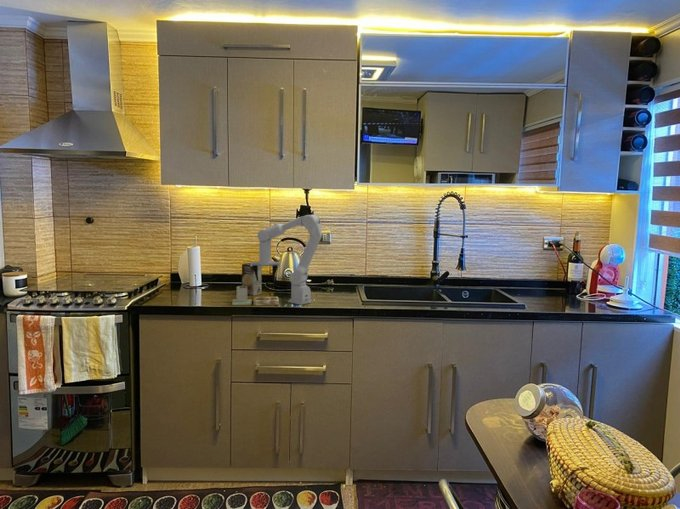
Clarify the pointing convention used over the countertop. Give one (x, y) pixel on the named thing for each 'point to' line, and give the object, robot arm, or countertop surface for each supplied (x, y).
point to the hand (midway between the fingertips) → (265, 280)
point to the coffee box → (251, 279)
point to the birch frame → (266, 301)
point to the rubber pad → (242, 302)
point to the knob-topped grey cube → (241, 294)
